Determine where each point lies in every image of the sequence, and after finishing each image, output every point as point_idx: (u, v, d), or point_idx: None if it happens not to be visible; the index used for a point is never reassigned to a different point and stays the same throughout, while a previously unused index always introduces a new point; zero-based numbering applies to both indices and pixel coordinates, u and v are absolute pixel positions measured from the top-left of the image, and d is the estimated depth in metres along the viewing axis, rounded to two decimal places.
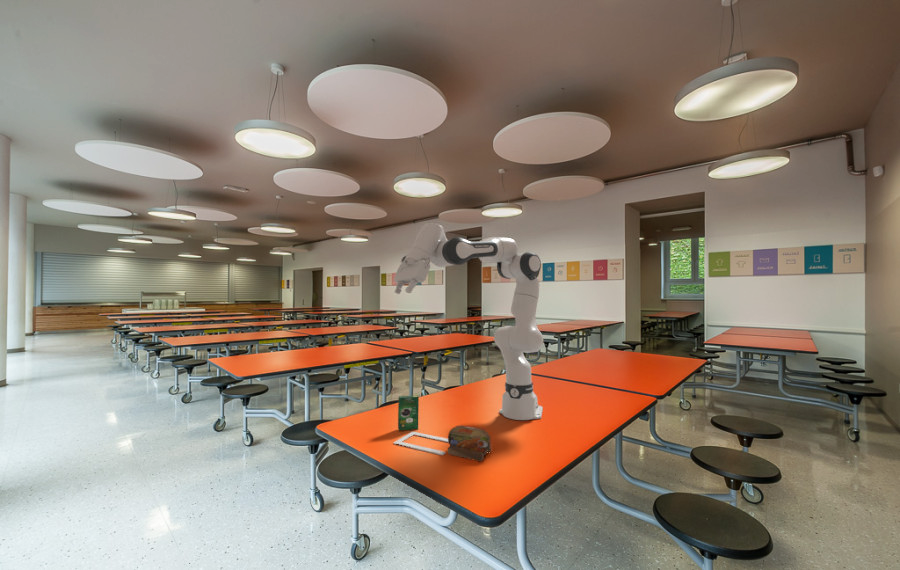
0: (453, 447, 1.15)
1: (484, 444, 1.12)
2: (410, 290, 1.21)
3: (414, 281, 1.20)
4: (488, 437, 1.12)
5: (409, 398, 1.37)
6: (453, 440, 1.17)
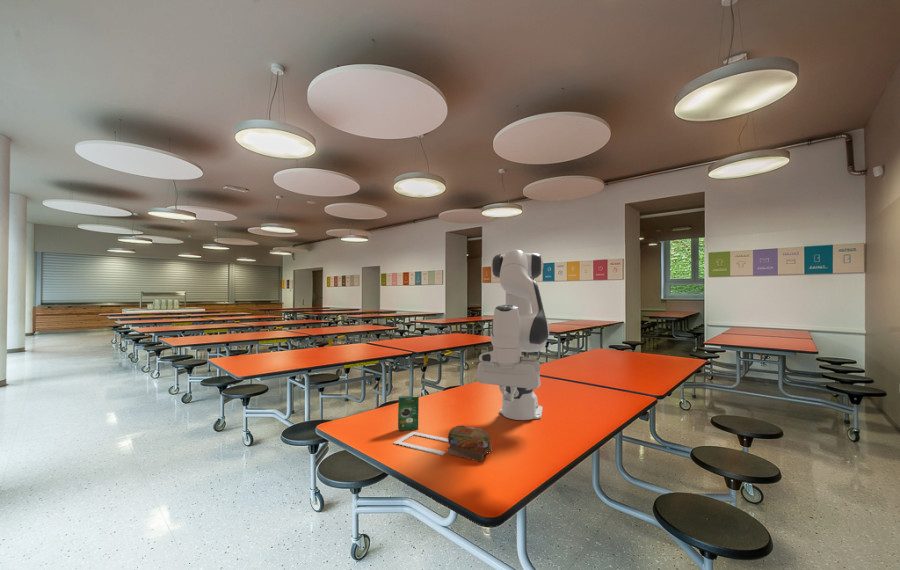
0: (453, 447, 1.15)
1: (484, 444, 1.12)
2: (512, 397, 1.09)
3: (515, 387, 1.08)
4: (488, 437, 1.12)
5: (409, 398, 1.37)
6: (453, 440, 1.17)
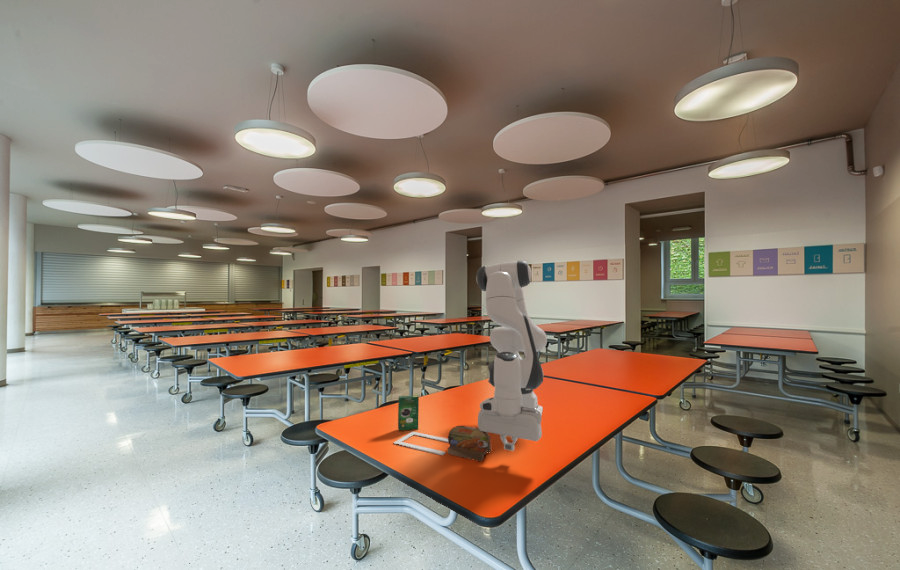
0: (453, 447, 1.15)
1: (484, 444, 1.12)
2: (513, 447, 1.08)
3: None
4: (488, 437, 1.12)
5: (409, 398, 1.37)
6: (453, 440, 1.17)
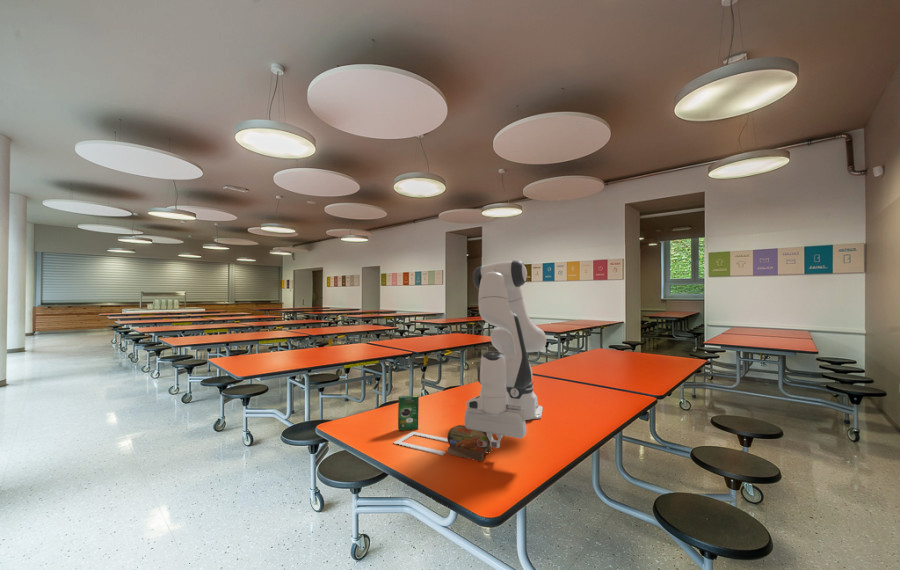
0: (453, 447, 1.15)
1: (483, 444, 1.12)
2: (499, 444, 1.11)
3: (501, 435, 1.10)
4: (487, 437, 1.12)
5: (409, 398, 1.37)
6: (452, 440, 1.17)
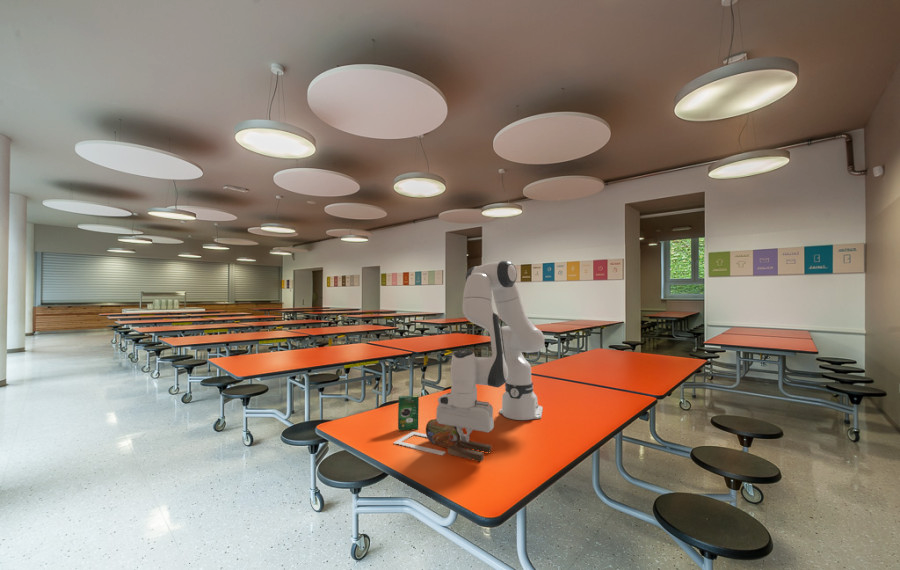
0: (453, 447, 1.15)
1: (454, 438, 1.17)
2: (468, 438, 1.16)
3: (470, 429, 1.15)
4: None
5: (409, 398, 1.37)
6: (430, 432, 1.25)
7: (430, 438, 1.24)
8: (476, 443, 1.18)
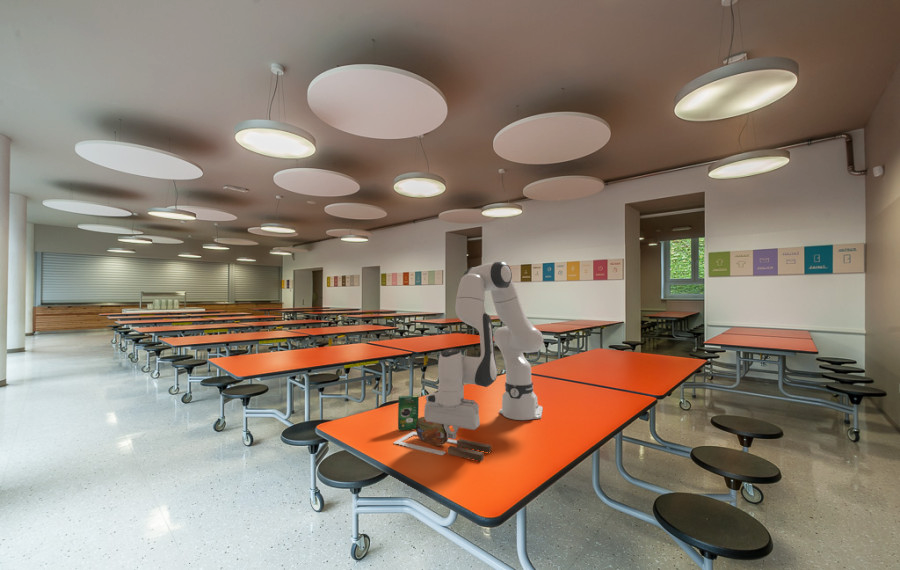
0: (453, 447, 1.15)
1: (441, 435, 1.20)
2: (455, 435, 1.18)
3: (457, 427, 1.17)
4: None
5: (409, 398, 1.37)
6: (419, 429, 1.28)
7: (420, 435, 1.27)
8: (476, 443, 1.18)
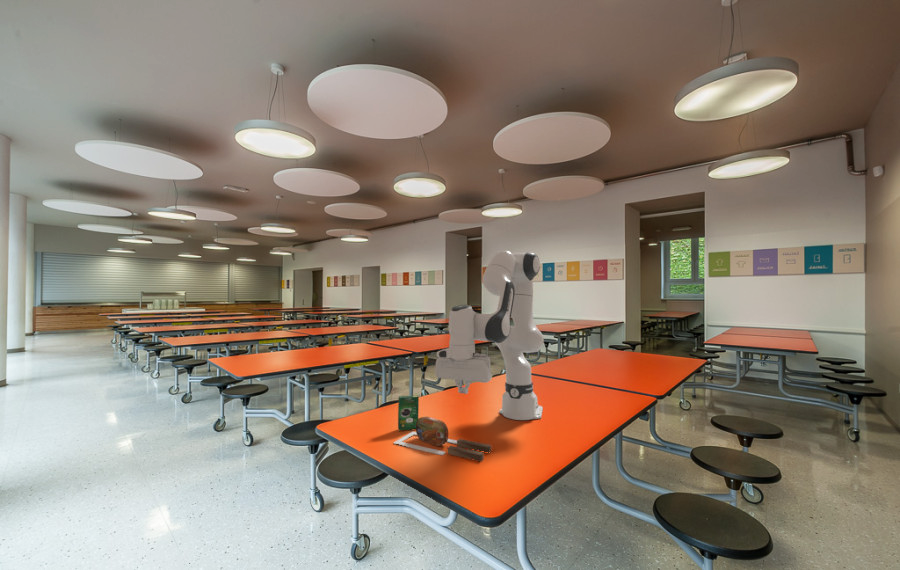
0: (453, 447, 1.15)
1: (441, 435, 1.20)
2: (467, 390, 1.18)
3: (469, 381, 1.17)
4: (445, 429, 1.20)
5: (409, 398, 1.37)
6: (419, 429, 1.28)
7: (419, 435, 1.27)
8: (476, 443, 1.18)
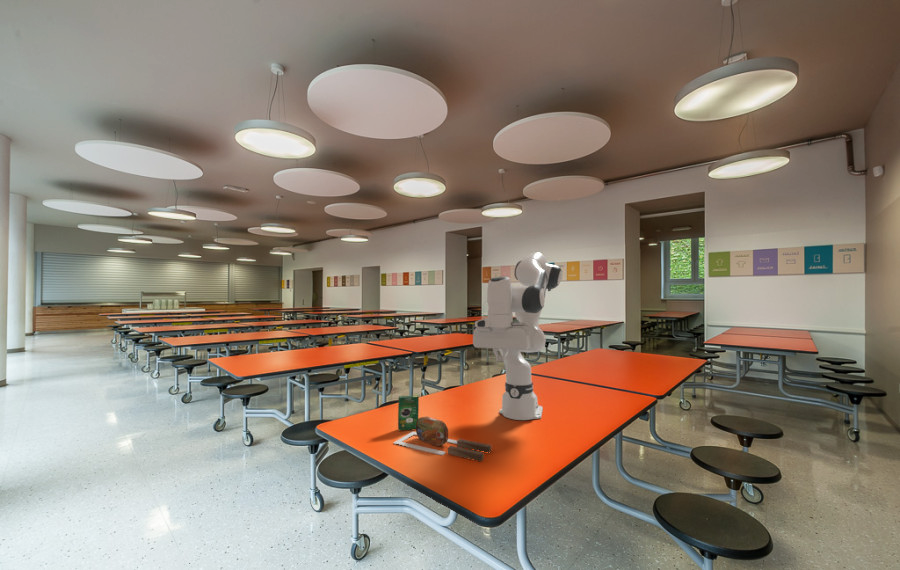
0: (453, 447, 1.15)
1: (441, 435, 1.20)
2: (505, 359, 1.21)
3: (507, 350, 1.20)
4: (445, 429, 1.20)
5: (409, 398, 1.37)
6: (419, 429, 1.28)
7: (419, 435, 1.27)
8: (476, 443, 1.18)
